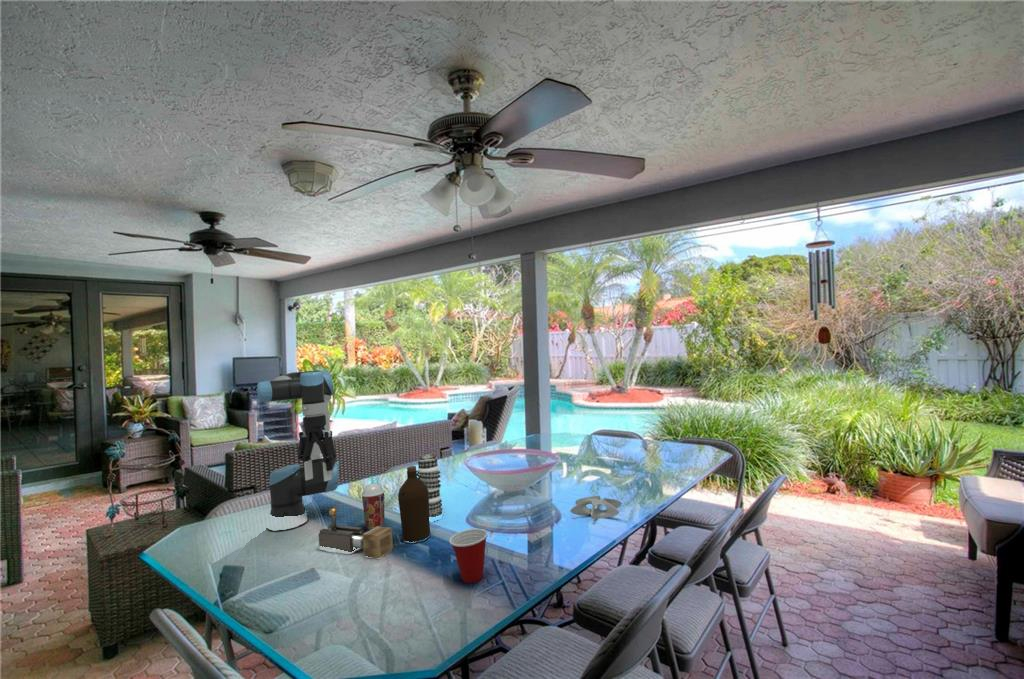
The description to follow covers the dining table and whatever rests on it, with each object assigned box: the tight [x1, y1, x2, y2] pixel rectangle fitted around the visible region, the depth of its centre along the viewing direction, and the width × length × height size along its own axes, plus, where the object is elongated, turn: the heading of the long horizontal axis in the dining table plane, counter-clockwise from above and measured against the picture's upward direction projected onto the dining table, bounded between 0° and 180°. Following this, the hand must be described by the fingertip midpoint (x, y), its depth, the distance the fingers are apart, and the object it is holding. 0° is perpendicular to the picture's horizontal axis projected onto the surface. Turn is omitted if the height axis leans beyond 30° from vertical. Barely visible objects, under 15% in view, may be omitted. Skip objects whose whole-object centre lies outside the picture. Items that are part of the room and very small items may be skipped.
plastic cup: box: [449, 528, 488, 584], centre depth 129 cm, size 11×11×12 cm
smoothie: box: [361, 475, 386, 528], centre depth 175 cm, size 8×8×20 cm
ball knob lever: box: [328, 507, 364, 549], centre depth 157 cm, size 16×4×12 cm, turn 66°
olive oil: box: [397, 465, 431, 542], centre depth 162 cm, size 11×11×25 cm
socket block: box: [363, 526, 394, 559], centre depth 152 cm, size 6×7×8 cm
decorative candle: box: [416, 453, 443, 517], centre depth 181 cm, size 9×9×25 cm
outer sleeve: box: [318, 524, 365, 552], centre depth 158 cm, size 14×6×7 cm, turn 66°
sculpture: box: [569, 495, 623, 520], centre depth 170 cm, size 18×20×6 cm
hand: (318, 479), depth 163 cm, fingers open, 8 cm apart
